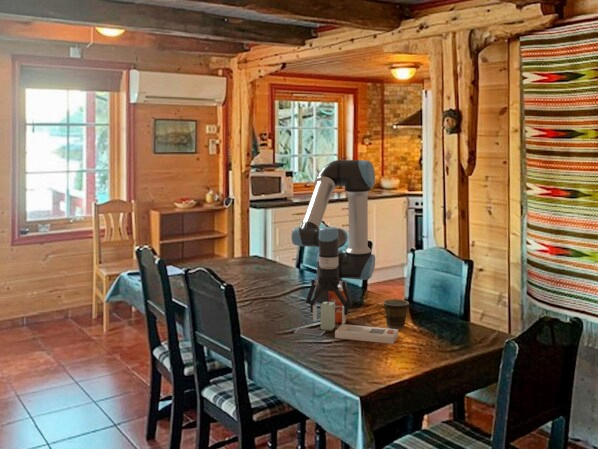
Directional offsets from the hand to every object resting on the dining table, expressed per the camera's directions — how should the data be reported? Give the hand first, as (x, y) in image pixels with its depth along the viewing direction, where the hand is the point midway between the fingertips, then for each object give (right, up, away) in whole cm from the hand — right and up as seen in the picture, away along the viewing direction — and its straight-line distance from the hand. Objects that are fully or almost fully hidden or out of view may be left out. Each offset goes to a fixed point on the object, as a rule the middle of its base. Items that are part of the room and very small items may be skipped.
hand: (329, 321), depth 248 cm
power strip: (+14, -4, -10) cm, 18 cm away
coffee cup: (+4, -1, +11) cm, 11 cm away
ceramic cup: (+25, -3, +1) cm, 25 cm away
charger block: (-1, -3, +1) cm, 3 cm away
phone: (-8, -4, -5) cm, 10 cm away
